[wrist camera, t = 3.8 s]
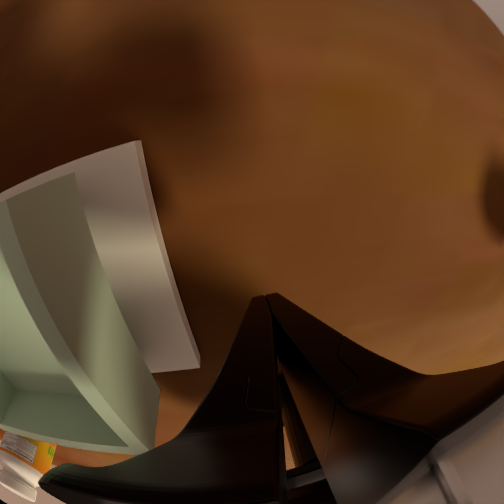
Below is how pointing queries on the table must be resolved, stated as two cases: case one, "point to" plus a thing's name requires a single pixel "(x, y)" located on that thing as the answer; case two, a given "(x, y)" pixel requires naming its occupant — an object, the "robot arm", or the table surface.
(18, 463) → the supplement bottle
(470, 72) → the table surface
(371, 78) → the table surface
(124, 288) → the board
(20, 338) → the sage green storage bin
